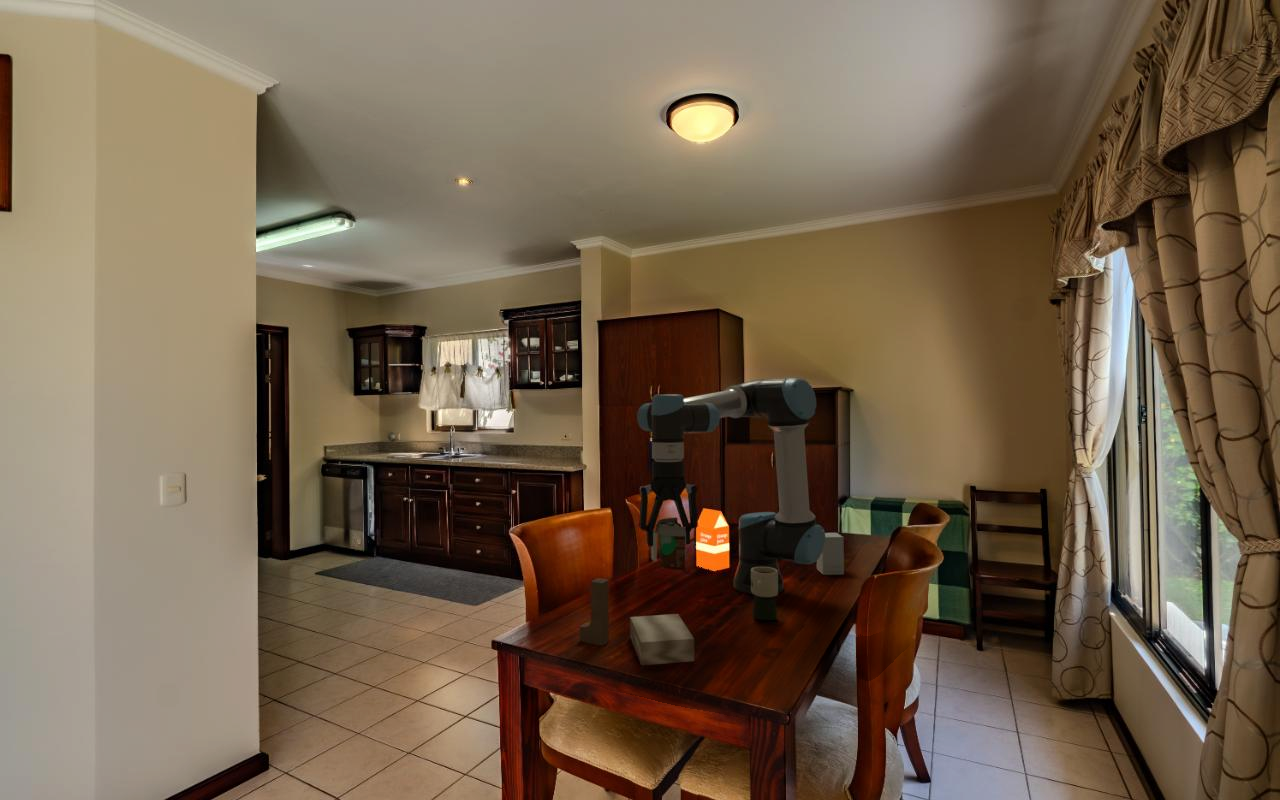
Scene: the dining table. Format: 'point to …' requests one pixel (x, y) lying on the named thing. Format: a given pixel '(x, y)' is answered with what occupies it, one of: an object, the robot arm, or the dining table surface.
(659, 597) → the dining table surface
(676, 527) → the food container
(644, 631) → the birch block
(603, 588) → the wooden block
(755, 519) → the robot arm
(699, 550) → the orange juice
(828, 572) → the supplement box
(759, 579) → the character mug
